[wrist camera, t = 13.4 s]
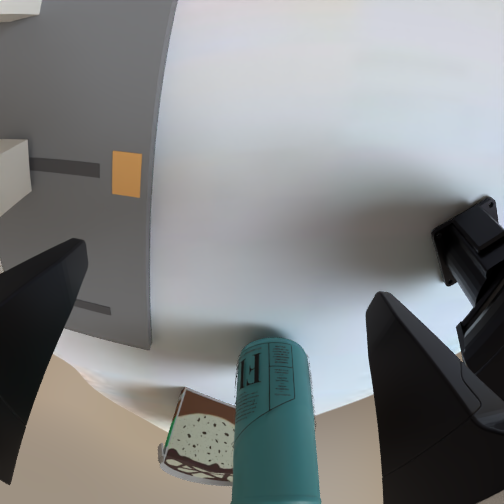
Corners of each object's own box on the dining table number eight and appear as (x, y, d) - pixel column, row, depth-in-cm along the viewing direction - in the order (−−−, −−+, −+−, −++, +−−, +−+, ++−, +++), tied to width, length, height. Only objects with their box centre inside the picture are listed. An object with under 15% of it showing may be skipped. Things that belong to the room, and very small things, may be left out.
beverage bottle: (257, 313, 26) (250, 566, 10) (321, 335, 28) (347, 556, 11) (226, 354, 30) (209, 559, 13) (285, 371, 31) (291, 560, 15)
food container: (154, 399, 36) (139, 467, 28) (173, 381, 33) (158, 459, 25) (233, 428, 40) (229, 490, 32) (259, 414, 37) (258, 484, 29)
